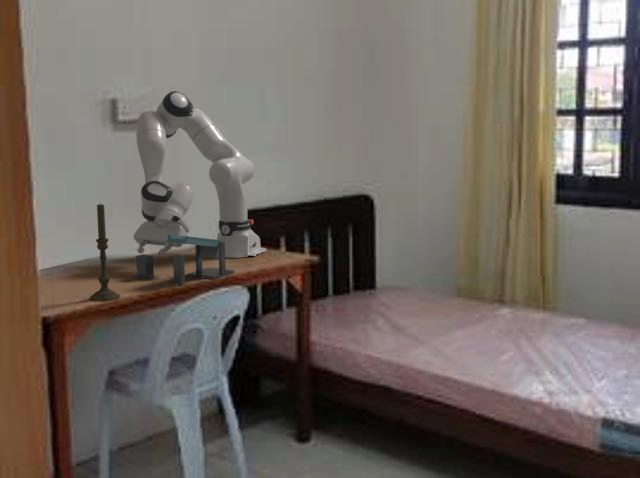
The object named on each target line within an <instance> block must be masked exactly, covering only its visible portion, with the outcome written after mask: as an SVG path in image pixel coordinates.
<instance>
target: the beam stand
mask: <svg viewBox="0 0 640 478" xmlns="http://www.w3.org/2000/svg"><path fill="white" fill-rule="evenodd" d="M194 247H195V270H194V271H191V272H188V273H186V269H185V254H174V255H172V260H173V261H172V265H173V285H174V284H178V285H177V286H181V285H182V286H184V285H183V284H185V285H186V278H185V277H188V276H192V277H191V278H197V277H204V278H203V279H206V278H210V279H209V280H217V279H220V278H223V277H227V276H230V275H233V274H235V270H234V269H233V270H232V269H227V268H226V257H225V242H220V243H219V258H218V266H219V267H218V268H214V267H205V268H203V257H200V253H201V245H194ZM185 273H186V274H187V275H185Z"/></svg>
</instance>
